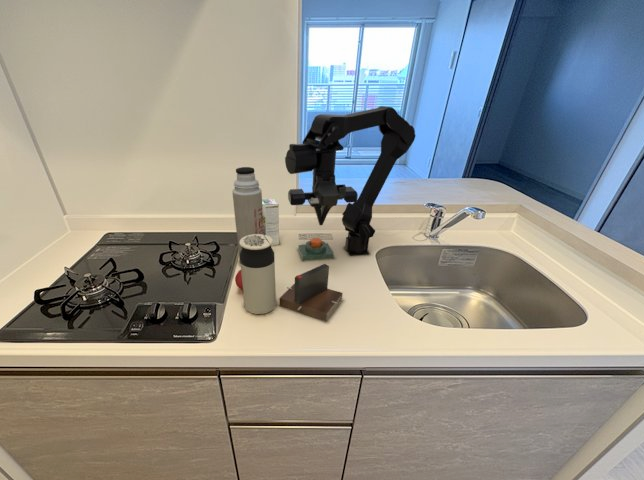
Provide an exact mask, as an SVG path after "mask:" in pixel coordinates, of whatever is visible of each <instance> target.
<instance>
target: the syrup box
mask: <svg viewBox="0 0 644 480" xmlns="http://www.w3.org/2000/svg"><path fill="white" fill-rule="evenodd" d="M279 205H280V203H278V201H277V200H276V199H275V198H262V210H263V230H264V235H267V236H269V237H271V238H272V240H273V243H272V245H271V246H277V245H280V206H279Z"/></svg>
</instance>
